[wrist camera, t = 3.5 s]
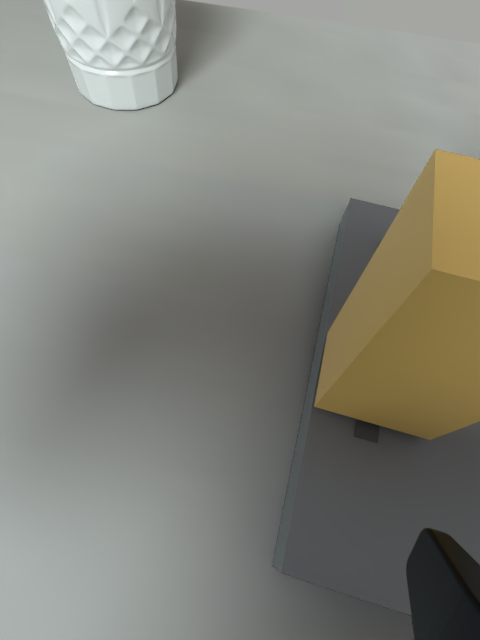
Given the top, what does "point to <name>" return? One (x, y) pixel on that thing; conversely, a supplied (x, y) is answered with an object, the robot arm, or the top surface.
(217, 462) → the top surface
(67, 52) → the white cup
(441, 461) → the grey slotted board
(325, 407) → the amber slider
